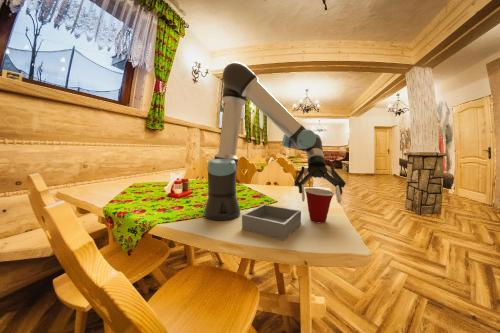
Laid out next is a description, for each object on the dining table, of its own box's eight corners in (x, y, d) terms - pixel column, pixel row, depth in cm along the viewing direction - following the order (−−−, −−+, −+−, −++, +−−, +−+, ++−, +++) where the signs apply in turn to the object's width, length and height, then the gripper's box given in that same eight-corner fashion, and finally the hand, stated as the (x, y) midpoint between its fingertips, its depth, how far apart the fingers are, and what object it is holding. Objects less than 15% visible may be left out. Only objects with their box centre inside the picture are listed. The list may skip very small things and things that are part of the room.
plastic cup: (336, 227, 66) (338, 193, 65) (305, 224, 68) (306, 192, 67) (330, 216, 77) (331, 187, 76) (303, 214, 79) (303, 186, 78)
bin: (242, 229, 64) (241, 214, 64) (263, 216, 78) (263, 204, 77) (284, 240, 56) (284, 224, 56) (300, 223, 69) (301, 210, 69)
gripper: (342, 165, 87) (352, 206, 74) (288, 165, 92) (288, 203, 78) (346, 154, 82) (358, 196, 68) (288, 154, 86) (289, 194, 73)
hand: (321, 200), depth 73 cm, fingers open, 13 cm apart
